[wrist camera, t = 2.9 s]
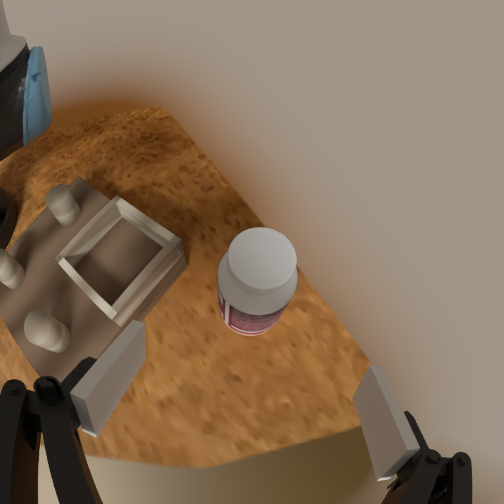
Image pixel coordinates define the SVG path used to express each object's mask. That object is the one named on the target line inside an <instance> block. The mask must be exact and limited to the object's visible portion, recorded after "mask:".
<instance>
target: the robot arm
mask: <svg viewBox="0 0 504 504" xmlns="http://www.w3.org/2000/svg"><path fill="white" fill-rule="evenodd" d="M51 118H52V111H51V101H50V91H49V83H48V75H47V68H46V61H45V56H44V53H43V48H42V47H40V46H38V47H33V48H32V49H31V50H29V49H28V46H27V43H26V39H25V38H24V37H21V36H16V35H11V34H10V32H9V28H8V24H7V20H6V16H5V12H4V7H3V3H2V0H0V161H2V160H3V159H4V158H6V157H7V156H9V155H10V154H12V153H13V152H15V151H17V150H18V149H20V148H21V147H23V146H24V147H26V146H27V145H28V143H29V142H31V141H32V140H34V139H36V138H37V137H39V136H40V135H42V134H43V133H45V132H46V131H47V129H48V128H49V126H50V123H51ZM16 219H17V205H16V202H15V201H14V199H13V198H12V196H11V195H10V194H9V193H8V192H7V191H6V190H5V189H3V188H2V187H0V249H5V247H6V245H7V244H8V242H9V240H10V237H11V235H12V233H13V230H14V227H15V224H16ZM144 362H145V323H142V322H139V321H136V320H133V321H132V322H131V323H130V324H129V325H128V326H127V327H126V328H125V329H124V331H123V332H122V333H121V334H120V335H119V336H118V337H117V338H116V340H115V341H114V342H113V343H112V344H111V345H110V346H109V347H108V349H107V350H106V351H105V352H104V353H103V354H102V355H101V357H100V358H99V359H98V360H97V359H95V358H92V357H90V356H89V357H87V358H85V359H83V360H81V361H80V362H79V363H78V365H77V366H76V368H74V369H73V370H72V372H70V373H69V374H68V375H67V377H66V378H65V379H64V380H63V381H62V382H61V383H60V382H59V381H58V380H57V379H56V378H54V377H52V376H42V377H40V378H38V379H37V380H36V381H35V382H34V386H33V387H34V390H35V392H34V391H30V390H27V389H26V387H25V385H24V383H23V382H22V381H20V380H17V379H12V380H9V381H7V382H6V383H5V384H4V386H3V388H2V391H1V394H0V504H38V462H39V449H40V439H41V432H42V433H43V439H44V445H45V450H46V455H47V460H48V464H49V468H50V473H51V477H52V480H53V484H54V487H55V490H56V494H57V497H58V500H59V503H60V504H103V503H102V501H101V498H100V496H99V493H98V491H97V489H96V486H95V483H94V481H93V478H92V475H91V473H90V470H89V467H88V464H87V461H86V458H85V455H84V451H83V448H82V445H81V441H80V438H79V434H78V431H77V429H78V427H79V426H80V424H81V427H82V429H83V431H84V432H86V433H88V434H90V435H92V436H94V437H98V435H99V434H100V432H101V430H102V429H103V427H104V425H105V424H106V422H107V420H108V419H109V417H110V416H111V414H112V412H113V411H114V409H115V407H116V406H117V404H118V403H119V401H120V399H121V398H122V396H123V395H124V393H125V391H126V390H127V388H128V387H129V385H130V384H131V382H132V380H133V379H134V377H135V376H136V374H137V373H138V371H139V369H140V368H141V366H142V365H143V363H144ZM353 401H354V404H355V407H356V410H357V413H358V417H359V420H360V423H361V426H362V430H363V433H364V436H365V440H366V443H367V446H368V450H369V453H370V457H371V460H372V464H373V467H374V471H375V475H376V478H377V481H379V480H386V479H390V478H391V477H392V476H393V475H394V474H395V473H397V477H398V478H397V479H396V480H394V481H393V482H392V483H391V484H390V485H389V486H388V487H387V489H388V488H390V487H391V488H390V490H389V492H388V493H387V495H386V497H385V499H384V500H383V502H382V503H381V504H472V466H471V459H470V457H469V456H468V455H467V454H466V453H463V452H458V453H456V454H455V455H454V456H453V457H452V458H444V457H441V455H440V454H439V453H438V452H437V451H435V450H431V449H429V448H428V446H427V444H426V441H425V440H424V438H423V435H422V433H421V431H419V430H420V429H419V427H418V426H417V423H416V421H415V419H414V417H413V416H412V415H411V414H410V413H409V412H408V411H405V412H403V410H402V408H401V406H400V404H399V402H398V400H397V398H396V396H395V394H394V392H393V390H392V388H391V386H390V384H389V382H388V380H387V378H386V376H385V374H384V372H383V370H382V368H381V366H375V365H369V367H368V369H367V371H366V373H365V375H364V377H363V379H362V381H361V383H360V385H359V387H358V389H357V391H356V392H355V394H354V396H353Z"/></svg>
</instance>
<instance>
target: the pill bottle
mask: <svg viewBox="0 0 504 504" xmlns="http://www.w3.org/2000/svg"><path fill="white" fill-rule="evenodd" d="M296 263H297V258H296V252H295V249H294V247H293V245H292V243H291V242H290V241H289V240H288V239H287V238H286V237H285V236H284V235H283V234H281V233H280V232H278V231H276V230H273V229H270V228H264V227H256V228H250V229H247V230H245V231H243V232H241V233H240V234H238V235H237V236H236V237H235V238H234V239H233V241H232V242H231V244H230V246H229V250H228V251H227V252H226V254H225V255H224V256H223V258H222V260H221V262H220V264H219V268H218V275H217V281H218V299H219V310H220V314H221V317H222V319H223V321H224V322H225V324H226V325H227V326H228V327H229V328H230V329H231V330H233V331H235V332H237V333H239V334H242V335H246V336H255V335H260V334H263V333H265V332H267V331H268V330H269V329H271V328H272V327H273V326H274V325H275V323H276V322H277V320H278V319H279V317H280V316H281V314H282V313H283V311H284V309H285V308H286V306H287V304H288V303H289V301H290V300H291V298H292V296H293V294H294V292H295V290H296V286H297V279H298V278H297V270H296Z"/></svg>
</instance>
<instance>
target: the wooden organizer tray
mask: <svg viewBox="0 0 504 504" xmlns="http://www.w3.org/2000/svg"><path fill="white" fill-rule="evenodd" d="M45 202H46V204H47V207H46V208H45V209H44V210H43V211H42V212H41V214H40V215H39V216H38V217H37V218H36V219H35V220H34V221H33V222H32V223H31V224H30V225H29V227H28V228H27V229H26V230H25V231H24V232H23V233H22V234H21V236H20V237H19V238H18V239H17V240H16V242H15V243H14V244H13V245H12V246H11V248H10V249H9V250H8V251H7V252H6V251H5V250H4V249H0V315H1V317H2V319H3V321H4V322H5V324H6V326H7V328H8V329H9V331H10V333H11V334H12V336H13V338H14V339H15V341H16V343H17V344H18V346H19V347H20V349H21V350H22V352H23V354H24V355H25V356H26V358H27V359H28V361H29V362H30V364H31V365H32V367H33V368H34V369H35V371H36V372H37V373H38V375H39V376H40V377H42V376H52V377H54V378H56V379H57V380H58V381H59V382H60V383H61V382H62V381H63V380H64V379H65V378H66V377H67V375H68V374H69V373H70V372H72V370H73V369H74V368H76V366H77V365H78V363H79V362H80V361H81V360H83V359H85V358H87V357H89V356H90V357H92V358H95V359H97V360H98V359H99V358H100V357H101V355H102V354H103V353H104V352H105V351H106V350H107V349H108V347H109V346H110V345H111V344H112V343H113V342H114V341H115V340H116V338H117V337H118V336H119V335H120V334H121V333H122V332H123V331H124V329H125V328H126V327H127V326H128V325H129V324H130V323H131V322H132V321H133V320H136V321H139V322H142V321H143V319H144V318H145V317H146V316H147V314H148V313H149V312H150V311H151V309H152V308H153V307H154V306H155V305H156V303H157V302H158V301H159V300H160V299H161V297H162V296H163V295H164V294H165V292H166V291H167V290H168V289H169V288H170V287H171V285H172V284H173V283H174V282H175V281H176V279H177V278H178V277H179V276H180V275H181V273H182V272H183V271H184V270H185V269H186V268H187V266H188V265H187V261H186V257H185V253H184V249H183V244H182V240H181V239H180V238H179V237H177V236H176V235H174V234H173V233H171V232H170V231H168V230H167V229H165V228H164V227H162V226H161V225H159V224H158V223H156V222H155V221H154V220H152V219H151V218H149V217H148V216H146V215H145V214H143V213H142V212H140V211H139V210H138V209H136V208H135V207H133V206H132V205H130V204H129V203H128V202H126V201H125V200H123V199H122V198H120V197H119V196H118V195H116V196H115V197H114V198H113V199H112V200H110V199H108V198H107V197H106V196H104V195H103V194H102V193H100V192H99V191H98V190H96V189H95V188H94V187H92V186H91V185H90V184H89V183H87V182H86V181H85V180H83V179H82V178H81V177H78V178H77V179H76V180H75V181H73V182H72V183H71V184H70V185H69V186H67V185H65V184H59V185H57V186H55V187H54V188H52V189H51V190H50V191H49V193H48V194H47V196H46V199H45Z"/></svg>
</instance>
